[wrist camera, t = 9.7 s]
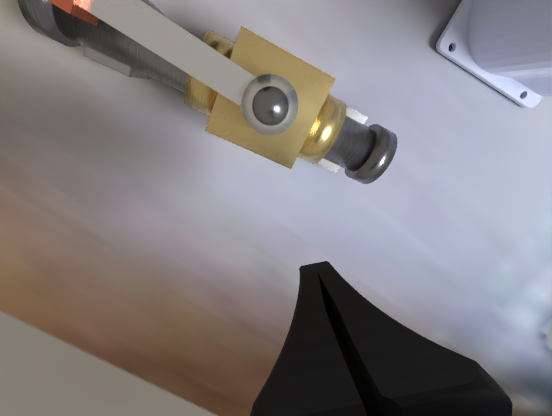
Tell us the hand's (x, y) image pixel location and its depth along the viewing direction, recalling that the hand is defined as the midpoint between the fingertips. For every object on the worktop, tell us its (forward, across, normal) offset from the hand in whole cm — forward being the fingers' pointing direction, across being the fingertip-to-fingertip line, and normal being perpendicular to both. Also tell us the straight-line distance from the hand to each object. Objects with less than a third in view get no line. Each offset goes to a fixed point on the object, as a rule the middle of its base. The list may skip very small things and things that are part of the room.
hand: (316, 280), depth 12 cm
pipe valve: (+10, +2, -9) cm, 14 cm away
